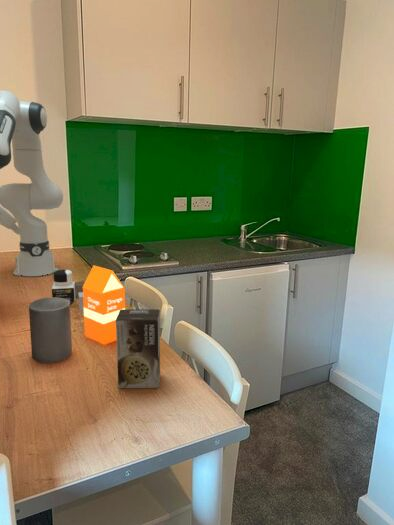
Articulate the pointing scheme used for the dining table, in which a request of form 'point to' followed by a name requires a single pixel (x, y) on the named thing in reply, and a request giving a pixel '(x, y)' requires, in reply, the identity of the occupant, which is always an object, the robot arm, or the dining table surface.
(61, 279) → the medicine bottle
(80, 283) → the walnut block
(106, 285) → the orange juice
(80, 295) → the grey painted block
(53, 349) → the pillar candle
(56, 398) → the dining table surface
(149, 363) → the coffee box
